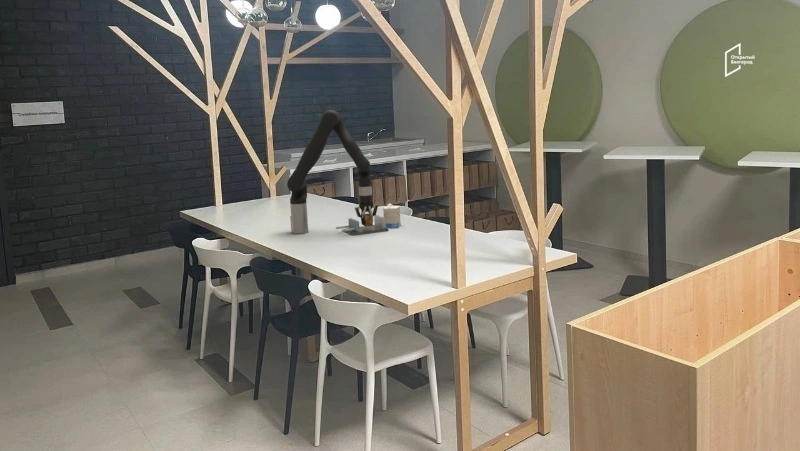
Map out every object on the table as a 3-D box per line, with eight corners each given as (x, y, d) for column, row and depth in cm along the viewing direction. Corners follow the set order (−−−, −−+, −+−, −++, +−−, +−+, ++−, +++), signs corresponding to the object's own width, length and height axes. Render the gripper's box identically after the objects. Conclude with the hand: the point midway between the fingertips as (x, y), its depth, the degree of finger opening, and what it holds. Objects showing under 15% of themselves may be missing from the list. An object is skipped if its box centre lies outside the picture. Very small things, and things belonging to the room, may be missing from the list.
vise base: (352, 235, 378) (351, 222, 377) (343, 231, 391) (342, 218, 389) (388, 230, 387) (387, 218, 386) (378, 226, 399) (378, 214, 398)
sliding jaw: (342, 233, 377) (342, 223, 376) (335, 229, 387) (335, 220, 386) (359, 231, 381) (359, 221, 380) (352, 227, 391) (351, 218, 390)
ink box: (398, 228, 394) (397, 205, 391) (383, 228, 395) (382, 205, 393) (400, 225, 402) (400, 202, 399) (387, 225, 404) (386, 202, 401)
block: (366, 226, 384) (365, 216, 383) (361, 224, 391) (361, 214, 390) (372, 225, 386) (372, 215, 385) (368, 223, 392) (367, 213, 391)
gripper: (356, 196, 379) (357, 226, 382) (379, 193, 384) (381, 223, 388) (351, 194, 385) (353, 224, 389) (374, 192, 391) (376, 221, 394)
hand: (367, 223), depth 388 cm, fingers closed on block, 4 cm apart
